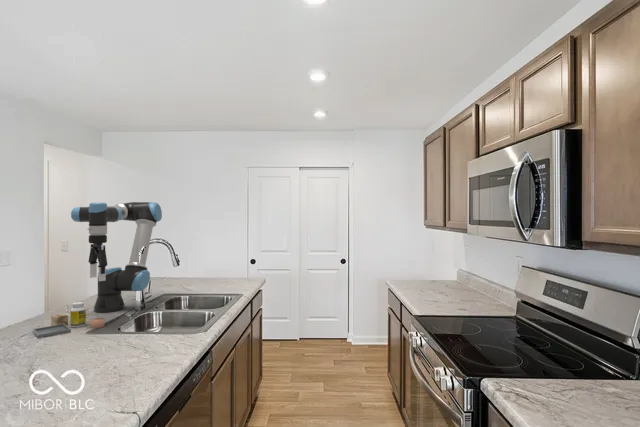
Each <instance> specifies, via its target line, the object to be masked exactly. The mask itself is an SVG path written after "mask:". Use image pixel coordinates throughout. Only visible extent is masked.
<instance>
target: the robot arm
mask: <svg viewBox="0 0 640 427" xmlns="http://www.w3.org/2000/svg"><path fill="white" fill-rule="evenodd" d="M70 212H71V213H70V217H71V219H72V221H73V222H75V223H76V222H77V223H88V228H87V231H88V235H89V236H88V243H89V244H90V250H89V256H88V263H89V278H90V279H92V278H93V279H94V278H97V298H96V300H95V303H94V306H93V312H94V313H113V312H117V311H122V310H124V309H125V307H126V306H125V305H126V304H125V301H124V299H123V296H122V292H141V291H144V290H145V289H146V288H148V285H149V284H150V280H151V274H150V271H149V270H148V267H147V266H146V263H147V259H148V254H149V249H150V244H151V238H152V235H153V229H154V227H156V226H157V222H160V221H162V219H163V212H162V208H161V206H160V204H159V203H158V202H155V201H154V202H153V201H149V202H148V201H145V202H144V201H141V202H140V201H132V202H125V203H118V204H114V205H108V204H107V203H106V202H90V203H89V205H88V206H77V207H76V206H75V207H73V208H72V210H71V211H70ZM119 221H128V222H129V221H130V222H135V224H136V229H135V230H136V231H135V234H134V239H133V244H132V248H131V253H130V257H129V262H128V264H125V267H124V270H123V269H122V267H119V266H117V267H112V268H106V267H107V266H108V265H109V264H108V259H107V253H106V251H107V250H106V245H104V244H105V243H107V242H108V236H107V234H108V223H117V222H119ZM149 241H150V242H149ZM143 246H144V252H143V254H141V260H140V263H139V256H140V255H139V252H140V250H141V248H142V247H143ZM145 247H146V248H145ZM141 251H142V250H141ZM140 253H141V252H140ZM97 268H98V270H97ZM97 271H98V272H97Z"/></svg>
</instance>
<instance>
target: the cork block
mask: <svg viewBox="0 0 640 427" xmlns="http://www.w3.org/2000/svg"><path fill="white" fill-rule="evenodd" d="M60 324H65V325H66V326H69V314H66V313H59V314H54V315H51V316H50V326H54V325H60Z"/></svg>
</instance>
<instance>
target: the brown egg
mask: <svg viewBox="0 0 640 427" xmlns="http://www.w3.org/2000/svg"><path fill="white" fill-rule="evenodd" d="M105 320H106V319H105V318H104V317H96V318H92V319H90V320H89V328H90V329H91V330H96V328H97V329H101V328H104V327H105Z"/></svg>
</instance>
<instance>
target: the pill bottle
mask: <svg viewBox="0 0 640 427" xmlns="http://www.w3.org/2000/svg"><path fill="white" fill-rule="evenodd" d="M71 305H72V306H71V307H72V308H71V309H70V316H69V317H70V318H69V320H70V321H69V322H70V324H69V325H70V326H69V327H71V328H74V327H76V328H82V327H84V326H86V325H87V324H86V322H87V321H86V319H87V318H86V317H87V316H86V314H87V309H86V307H85V302H83V301H77V302H73V303H72V304H71Z"/></svg>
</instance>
